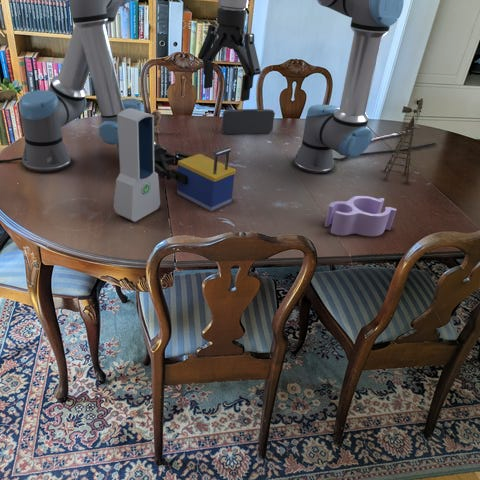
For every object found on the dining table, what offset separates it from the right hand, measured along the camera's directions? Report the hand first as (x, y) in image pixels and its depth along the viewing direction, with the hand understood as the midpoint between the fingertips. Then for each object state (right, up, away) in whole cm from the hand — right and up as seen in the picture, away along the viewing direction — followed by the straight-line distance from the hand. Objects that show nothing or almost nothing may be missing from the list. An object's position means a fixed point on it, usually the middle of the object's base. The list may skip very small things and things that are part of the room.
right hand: (225, 93), depth 128 cm
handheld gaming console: (+7, +7, +75) cm, 76 cm away
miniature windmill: (+63, -16, +49) cm, 82 cm away
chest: (-8, -26, +22) cm, 35 cm away
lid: (-6, -18, +16) cm, 25 cm away
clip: (+40, -36, +15) cm, 56 cm away
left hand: (-9, -20, +20) cm, 30 cm away
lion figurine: (-35, +4, +64) cm, 73 cm away
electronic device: (-26, -32, +10) cm, 43 cm away
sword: (+73, +7, +87) cm, 113 cm away
